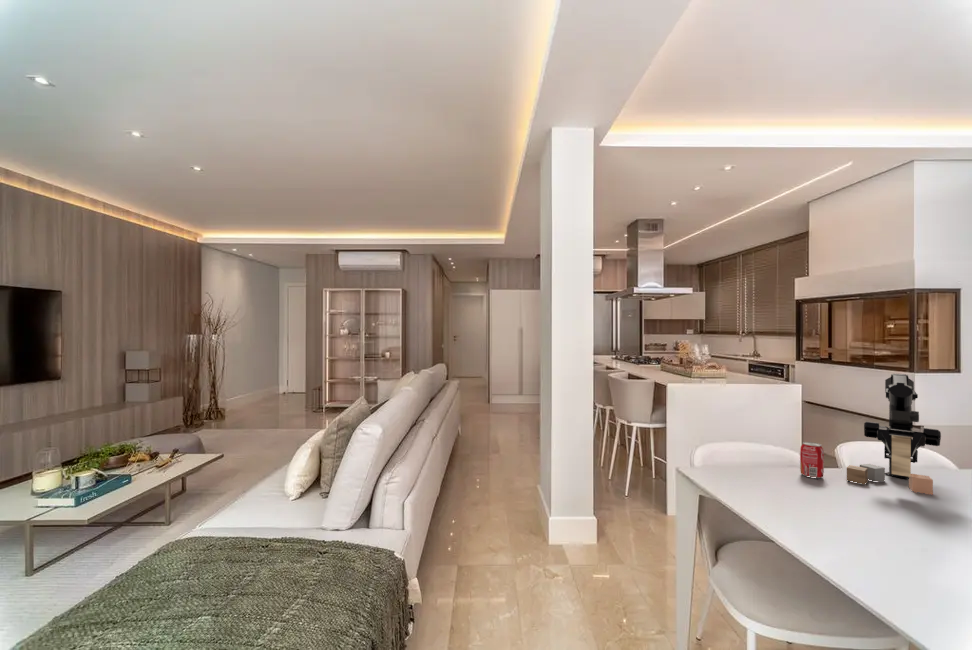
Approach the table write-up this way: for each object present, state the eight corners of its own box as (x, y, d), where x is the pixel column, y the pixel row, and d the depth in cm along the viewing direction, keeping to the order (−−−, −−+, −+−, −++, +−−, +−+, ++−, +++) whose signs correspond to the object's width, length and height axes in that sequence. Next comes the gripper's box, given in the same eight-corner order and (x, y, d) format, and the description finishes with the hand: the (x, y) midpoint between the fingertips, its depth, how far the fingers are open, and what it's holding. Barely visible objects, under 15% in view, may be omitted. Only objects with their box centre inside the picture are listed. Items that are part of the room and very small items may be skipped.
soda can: (815, 474, 167) (816, 441, 168) (828, 480, 160) (828, 446, 161) (795, 473, 168) (796, 441, 168) (807, 479, 161) (807, 445, 161)
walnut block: (849, 478, 163) (849, 465, 163) (867, 482, 159) (867, 468, 159) (846, 481, 159) (846, 467, 160) (864, 485, 156) (864, 470, 156)
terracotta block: (908, 487, 154) (908, 473, 154) (928, 490, 151) (928, 476, 151) (912, 491, 150) (912, 477, 150) (932, 495, 147) (932, 480, 147)
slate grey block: (869, 477, 165) (869, 463, 165) (884, 481, 160) (884, 467, 160) (859, 478, 164) (859, 464, 164) (874, 482, 159) (874, 468, 159)
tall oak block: (891, 470, 150) (891, 434, 150) (909, 473, 147) (910, 437, 147) (891, 473, 146) (891, 437, 147) (910, 477, 143) (910, 439, 144)
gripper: (864, 398, 156) (863, 435, 148) (940, 404, 144) (943, 445, 135) (865, 417, 162) (863, 454, 153) (938, 425, 149) (941, 466, 141)
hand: (901, 454), depth 146 cm, fingers closed on tall oak block, 4 cm apart
